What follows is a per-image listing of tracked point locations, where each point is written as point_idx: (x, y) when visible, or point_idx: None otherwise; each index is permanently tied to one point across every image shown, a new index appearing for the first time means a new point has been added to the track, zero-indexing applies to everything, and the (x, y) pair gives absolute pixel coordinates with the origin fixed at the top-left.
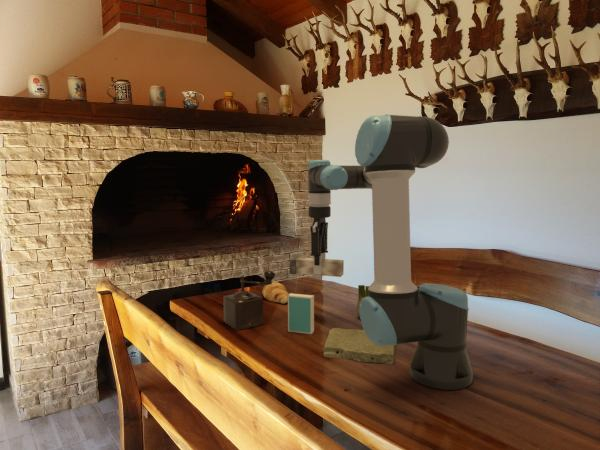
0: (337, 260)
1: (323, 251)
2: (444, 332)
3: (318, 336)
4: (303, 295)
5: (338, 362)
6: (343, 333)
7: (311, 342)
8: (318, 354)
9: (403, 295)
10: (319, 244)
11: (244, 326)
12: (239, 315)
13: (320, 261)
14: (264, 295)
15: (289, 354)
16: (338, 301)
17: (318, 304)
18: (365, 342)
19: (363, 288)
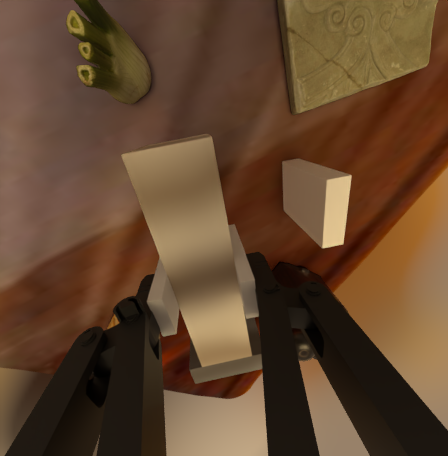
0: (163, 189)
1: (148, 321)
2: None
3: (306, 137)
4: (335, 207)
5: (440, 18)
6: (340, 53)
7: (342, 135)
8: (401, 88)
9: None
10: (299, 365)
11: (312, 274)
12: (330, 292)
13: (247, 260)
14: (159, 337)
15: (406, 145)
16: (49, 211)
17: (110, 239)
18: None
19: (97, 50)
